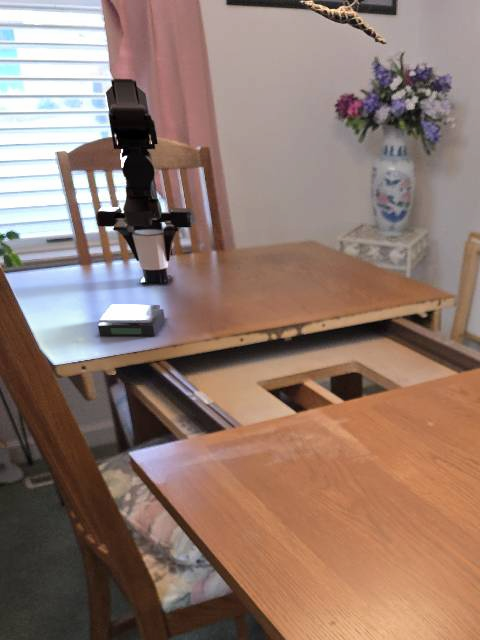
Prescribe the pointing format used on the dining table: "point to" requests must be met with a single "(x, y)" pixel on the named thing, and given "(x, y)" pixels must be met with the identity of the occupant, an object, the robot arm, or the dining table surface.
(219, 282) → the dining table surface
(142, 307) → the scale pan
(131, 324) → the scale
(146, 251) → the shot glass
